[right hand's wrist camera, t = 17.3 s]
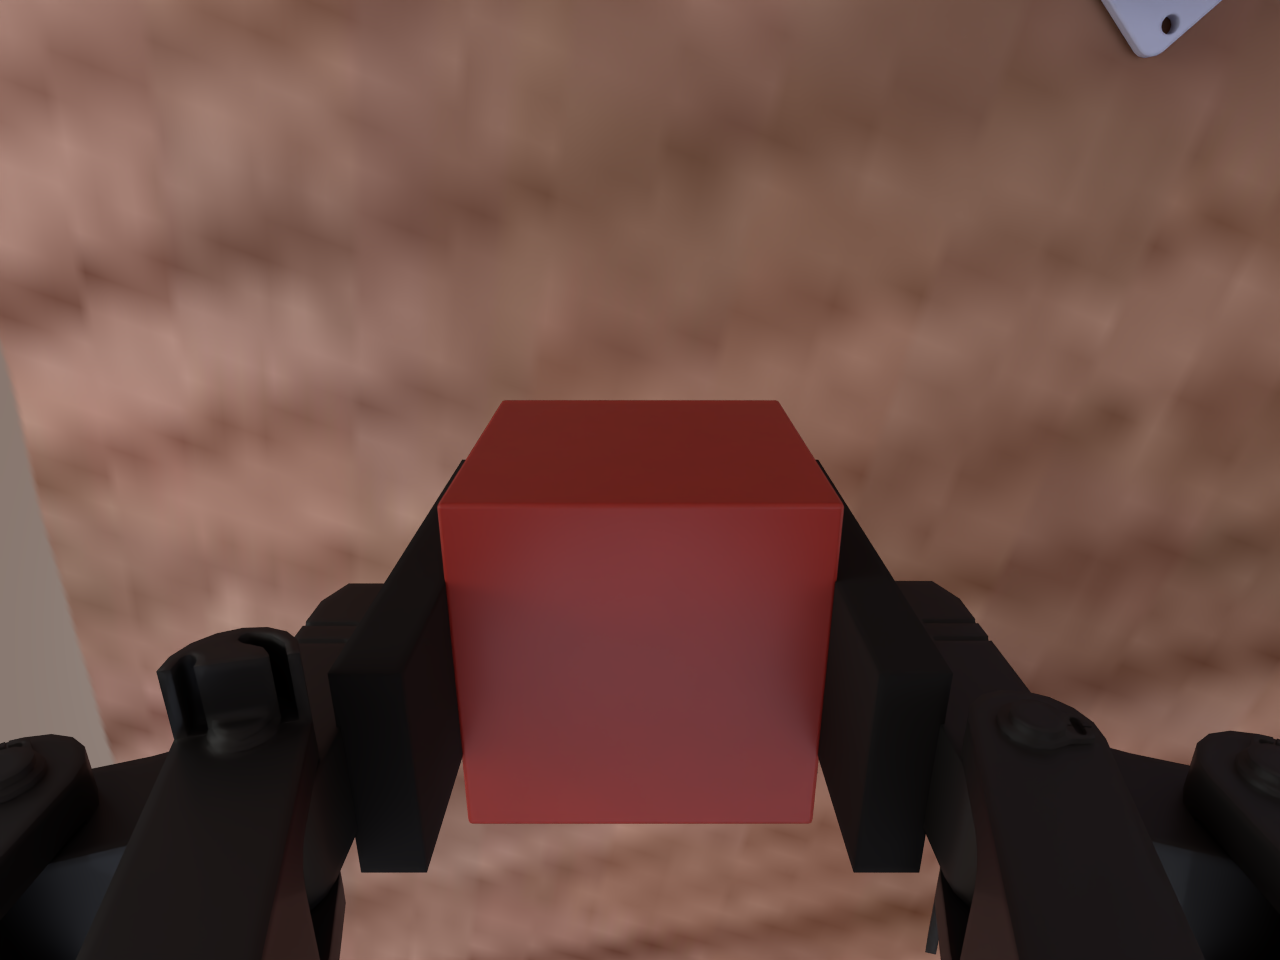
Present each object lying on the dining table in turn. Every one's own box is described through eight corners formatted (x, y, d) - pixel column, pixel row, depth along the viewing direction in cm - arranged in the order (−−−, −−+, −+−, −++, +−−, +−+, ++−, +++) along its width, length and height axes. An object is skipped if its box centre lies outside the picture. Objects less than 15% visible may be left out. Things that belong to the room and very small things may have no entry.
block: (501, 399, 14) (434, 504, 9) (778, 399, 14) (846, 504, 9) (517, 640, 16) (468, 825, 11) (763, 640, 16) (812, 826, 11)
